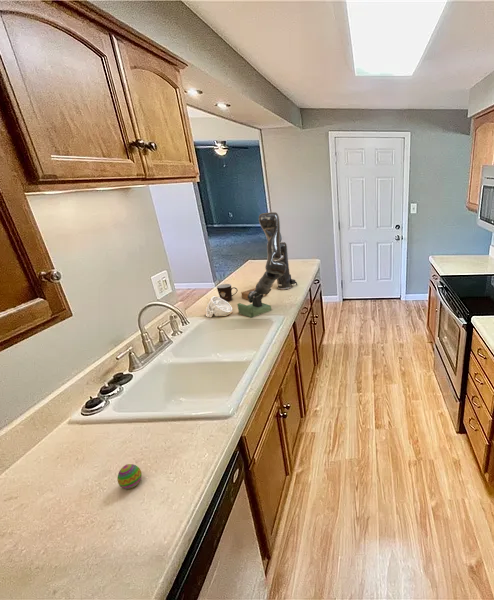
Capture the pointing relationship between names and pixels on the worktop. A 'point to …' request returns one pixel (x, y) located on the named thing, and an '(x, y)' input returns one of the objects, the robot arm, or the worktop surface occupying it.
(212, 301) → the skull bowl
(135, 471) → the egg
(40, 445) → the worktop surface
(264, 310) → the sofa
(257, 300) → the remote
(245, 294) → the brown wooden block
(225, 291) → the coffee mug
